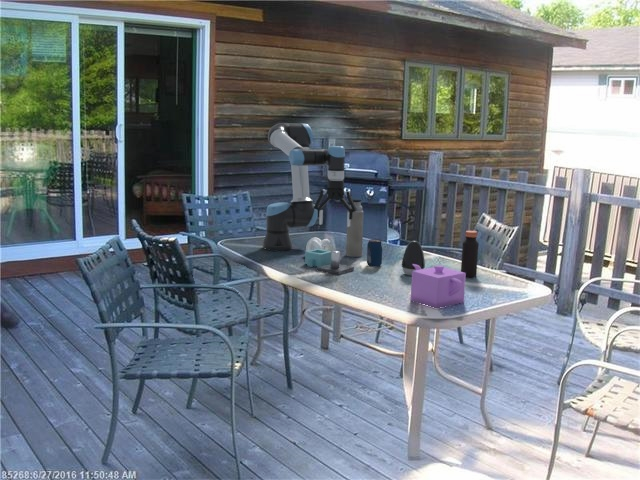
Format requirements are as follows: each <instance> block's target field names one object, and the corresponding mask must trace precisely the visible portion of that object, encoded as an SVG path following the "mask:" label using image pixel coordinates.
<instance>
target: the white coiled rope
mask: <svg viewBox="0 0 640 480" xmlns="http://www.w3.org/2000/svg"><path fill="white" fill-rule="evenodd" d="M305 246H306V247H305V252H306V251H310V250H314V249H321V250H327V251H329V249H330V247H331V242H330V240H329V239H328V238H323V239H322V240H321V239H320V238H318V237H315V236H314V237H312V238H310V239H308V241H307V243H306V245H305Z"/></svg>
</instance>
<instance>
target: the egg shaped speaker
mask: <svg viewBox="0 0 640 480" xmlns="http://www.w3.org/2000/svg"><path fill="white" fill-rule="evenodd" d="M412 264H416V265H419V266H420V267H421V269H426V268H425V267H426V259H425V254H424V250H423V247H422V245H421V243H420V242H419V241H418V240H411V241H410V242H409V243H408V244H407V245H406V247H405V250H404V253H403V256H402V260H401V267H402V271H403V273H404V274H405V275H407V276H411V277H412V271H415V270H416V269H415V267H414V266H413V265H412Z"/></svg>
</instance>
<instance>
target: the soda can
mask: <svg viewBox="0 0 640 480" xmlns="http://www.w3.org/2000/svg"><path fill="white" fill-rule="evenodd" d="M366 246H367V252H366V264H367V266H368V267H370V268H380V267H381V266H382V263H383V242H382V240H381V239H373V238H372V239H369V240H368V242H367V245H366Z"/></svg>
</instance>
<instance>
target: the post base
mask: <svg viewBox="0 0 640 480" xmlns="http://www.w3.org/2000/svg"><path fill="white" fill-rule="evenodd" d="M330 251H331V250H330ZM317 270H318V271H317ZM354 270H355V267H354V266H351V265H345V264H341V251H339V250H332V251H331V263H330V264H327V265H323V266H320V267H316V271H317V272H321V271H323V272H322V273H326V272H328V273H327V274H331V273H332V275H336V274H337V275H338V276H340V275H343V274H346V273H350V272H353V271H354ZM339 274H340V275H339Z"/></svg>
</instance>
